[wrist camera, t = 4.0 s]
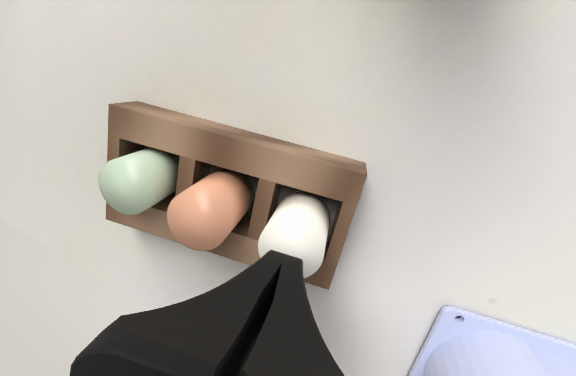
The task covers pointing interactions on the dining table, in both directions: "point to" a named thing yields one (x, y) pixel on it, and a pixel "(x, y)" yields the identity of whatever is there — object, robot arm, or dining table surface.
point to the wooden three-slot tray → (241, 158)
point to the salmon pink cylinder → (209, 209)
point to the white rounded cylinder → (298, 230)
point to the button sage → (139, 180)
